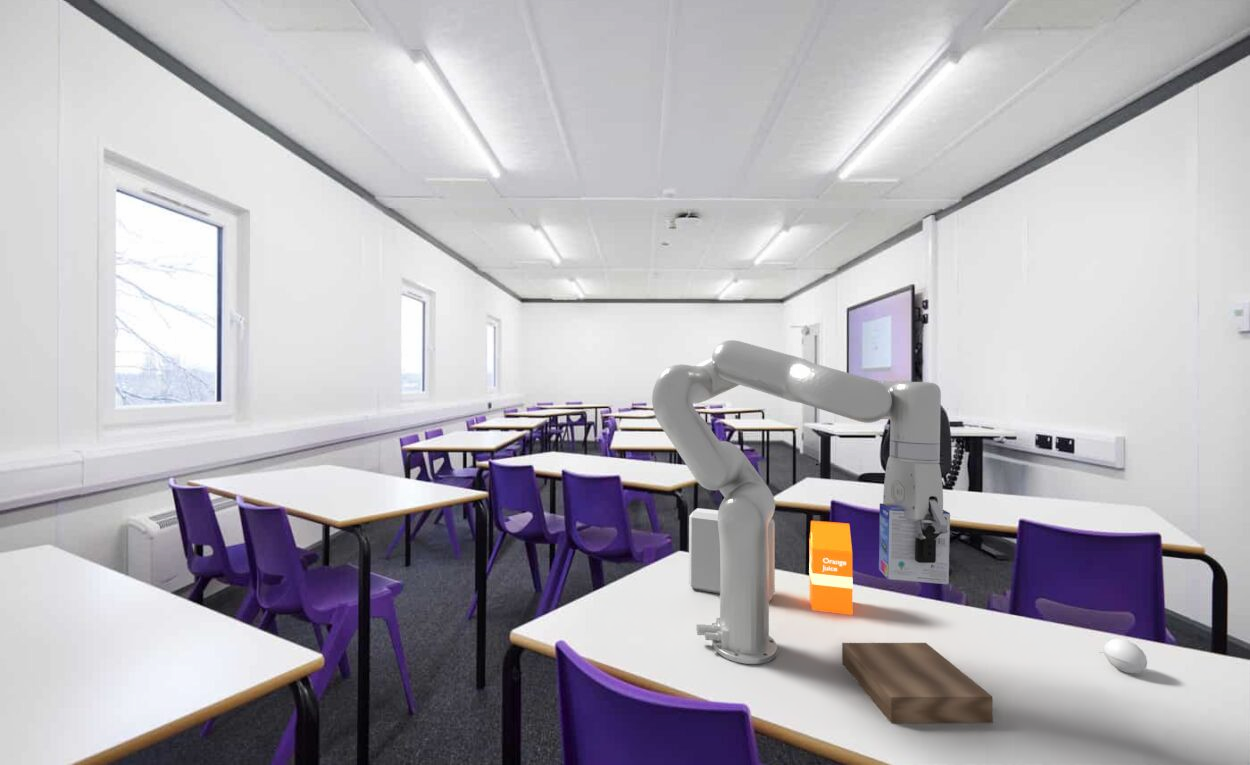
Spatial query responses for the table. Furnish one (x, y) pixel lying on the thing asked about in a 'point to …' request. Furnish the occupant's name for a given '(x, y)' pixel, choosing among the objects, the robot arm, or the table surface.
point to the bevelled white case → (715, 551)
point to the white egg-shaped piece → (1125, 656)
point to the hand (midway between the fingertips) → (912, 554)
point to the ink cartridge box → (909, 549)
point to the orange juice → (830, 567)
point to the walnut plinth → (916, 684)
